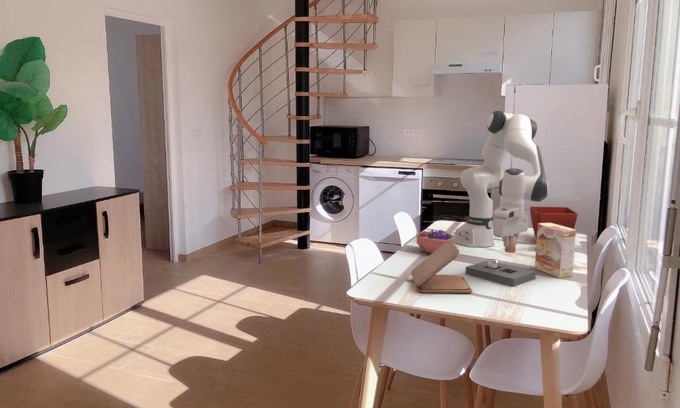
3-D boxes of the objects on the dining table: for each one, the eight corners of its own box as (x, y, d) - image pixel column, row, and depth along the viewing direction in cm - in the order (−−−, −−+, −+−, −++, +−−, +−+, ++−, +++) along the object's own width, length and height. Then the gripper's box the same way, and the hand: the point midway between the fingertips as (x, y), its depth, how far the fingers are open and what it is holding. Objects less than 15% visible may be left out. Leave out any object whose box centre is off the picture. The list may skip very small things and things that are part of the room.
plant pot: (535, 245, 275) (537, 212, 273) (527, 237, 294) (529, 206, 291) (575, 247, 273) (578, 213, 270) (565, 238, 292) (567, 207, 289)
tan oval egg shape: (502, 251, 219) (503, 236, 218) (508, 249, 222) (509, 235, 221) (511, 253, 216) (512, 238, 215) (517, 251, 219) (518, 236, 218)
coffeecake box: (533, 268, 235) (536, 223, 232) (547, 266, 238) (550, 222, 234) (558, 278, 221) (562, 230, 218) (573, 276, 224) (576, 229, 221)
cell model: (433, 245, 274) (434, 223, 272) (462, 254, 257) (463, 230, 255) (406, 250, 265) (407, 227, 263) (435, 259, 248) (436, 235, 246)
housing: (465, 273, 226) (465, 266, 226) (488, 267, 237) (488, 260, 236) (513, 286, 210) (514, 279, 209) (535, 278, 220) (536, 271, 220)
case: (410, 277, 221) (411, 238, 219) (463, 278, 221) (464, 239, 218) (415, 294, 201) (416, 251, 198) (473, 295, 200) (475, 252, 198)
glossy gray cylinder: (485, 274, 226) (486, 260, 225) (491, 272, 229) (491, 258, 228) (494, 276, 223) (494, 262, 222) (499, 274, 226) (500, 260, 225)
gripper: (519, 206, 225) (517, 240, 227) (490, 212, 212) (488, 247, 214) (533, 208, 221) (531, 242, 223) (505, 214, 207) (503, 250, 209)
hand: (510, 245), depth 218 cm, fingers closed on tan oval egg shape, 4 cm apart
